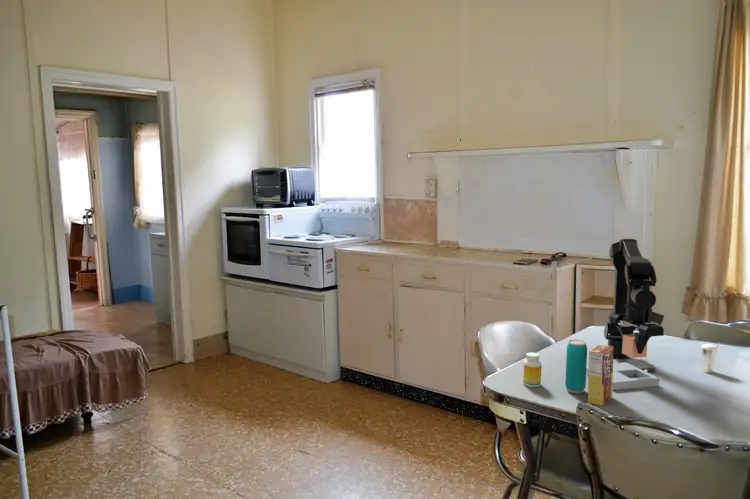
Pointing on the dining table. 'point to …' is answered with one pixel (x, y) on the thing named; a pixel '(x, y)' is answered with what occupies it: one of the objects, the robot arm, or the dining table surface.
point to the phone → (639, 364)
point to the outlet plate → (630, 377)
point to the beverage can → (576, 366)
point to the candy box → (600, 374)
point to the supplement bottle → (532, 370)
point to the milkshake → (708, 357)
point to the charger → (632, 347)
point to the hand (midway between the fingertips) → (634, 351)
